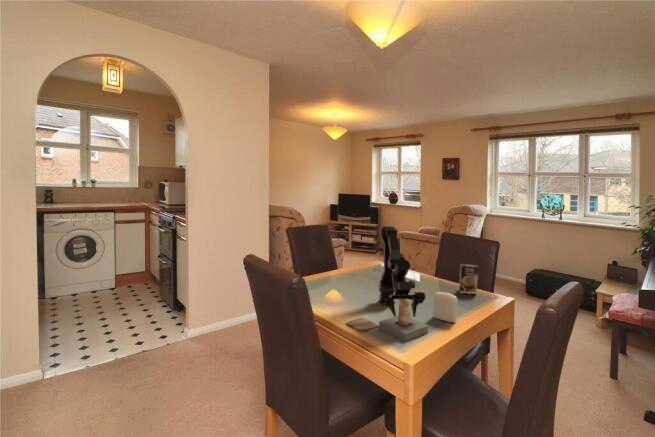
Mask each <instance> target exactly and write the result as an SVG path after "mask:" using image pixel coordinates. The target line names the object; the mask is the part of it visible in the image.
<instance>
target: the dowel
mask: <svg viewBox="0 0 655 437" xmlns="http://www.w3.org/2000/svg"><path fill="white" fill-rule="evenodd" d="M410 310H411V300H409V299H405V298H401V299H398V313H397V314H398V315H397V316H398V325H400V326H402V327H407V326H409V318H410V312H411V311H410Z"/></svg>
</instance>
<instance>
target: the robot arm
mask: <svg viewBox="0 0 655 437" xmlns="http://www.w3.org/2000/svg"><path fill="white" fill-rule="evenodd" d="M378 232H379V236H380V239H381V242H382V243H383V272H382V274H381V276H380V279H379V281H378V284H377V285H378V286H377V287H378V291H379V296H378V300H377V302H378V303H380V304H382V305H385V306H387V308H388V309H389V310H390V312H391V313H392V315H393V317H396V316H397V314H396V313H397V312H396V308H395V303H396V301H395V300H399V299H401V298H405V299H409V300H410V301H412V302H411V303H410V307H411V311H412V312H411V313H412V317H413V318H416V314H417V309H418V305H420V304H423V302H425V299H426V298H427V297H426V293H425V292H424V291H415V292H414V293H413V294H410V293H411V291H412V289H415V288H416V282H415V280H412V279H411V280H408V281H407V279H406V276H407V275H408V273H409V270H410V268H411V263H410V262H409V260H407V259H406V258H405V256H404V254H402V253H401V251H400V246H399V239H398V228H395V226H385V225H383V226H381V228H380V227H379V230H378Z"/></svg>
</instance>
